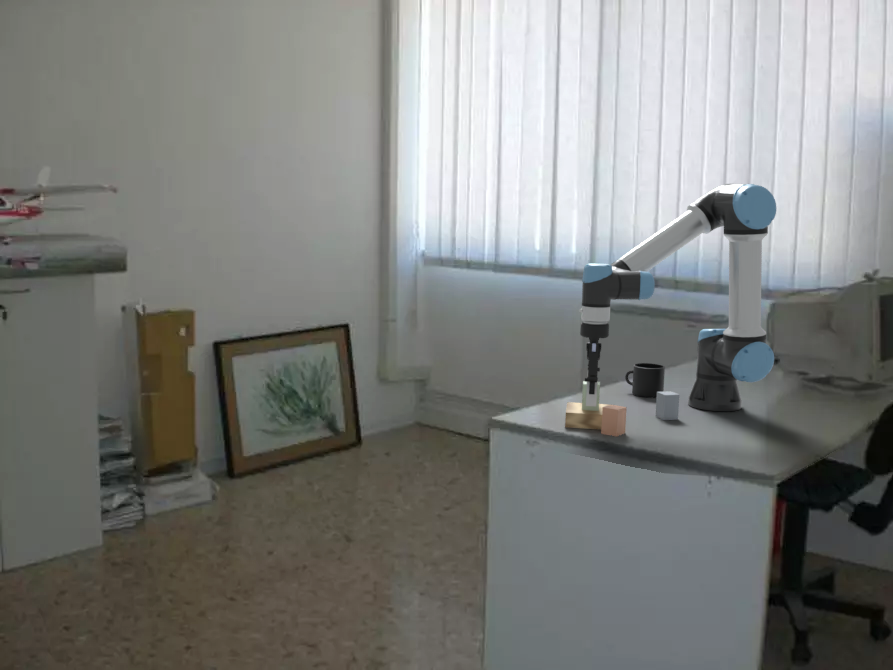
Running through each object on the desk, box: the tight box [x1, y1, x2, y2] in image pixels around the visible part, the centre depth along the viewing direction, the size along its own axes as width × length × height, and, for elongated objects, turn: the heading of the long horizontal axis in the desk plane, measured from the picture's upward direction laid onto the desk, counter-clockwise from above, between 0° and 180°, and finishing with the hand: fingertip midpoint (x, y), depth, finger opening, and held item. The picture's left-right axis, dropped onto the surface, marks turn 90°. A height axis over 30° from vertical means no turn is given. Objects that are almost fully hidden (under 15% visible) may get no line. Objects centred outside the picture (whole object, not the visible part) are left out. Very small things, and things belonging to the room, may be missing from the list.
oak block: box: [564, 401, 610, 430], centre depth 276 cm, size 13×13×4 cm
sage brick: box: [581, 380, 601, 411], centre depth 275 cm, size 4×4×7 cm
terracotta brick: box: [600, 404, 627, 437], centre depth 265 cm, size 4×4×7 cm
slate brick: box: [655, 390, 680, 421], centre depth 284 cm, size 4×4×7 cm
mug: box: [624, 362, 666, 399], centre depth 315 cm, size 9×12×9 cm
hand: (591, 400), depth 275 cm, fingers open, 13 cm apart
